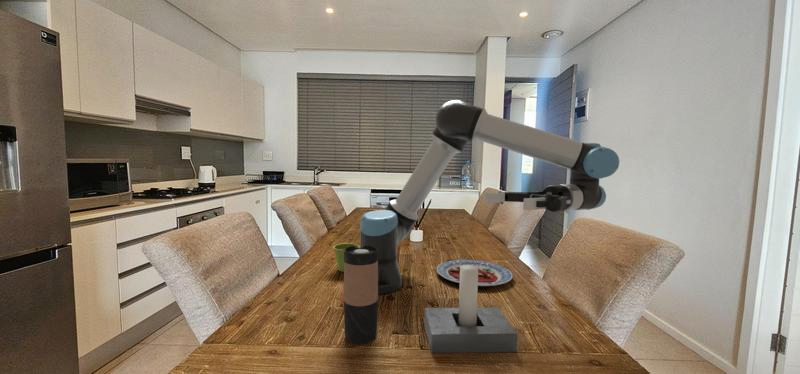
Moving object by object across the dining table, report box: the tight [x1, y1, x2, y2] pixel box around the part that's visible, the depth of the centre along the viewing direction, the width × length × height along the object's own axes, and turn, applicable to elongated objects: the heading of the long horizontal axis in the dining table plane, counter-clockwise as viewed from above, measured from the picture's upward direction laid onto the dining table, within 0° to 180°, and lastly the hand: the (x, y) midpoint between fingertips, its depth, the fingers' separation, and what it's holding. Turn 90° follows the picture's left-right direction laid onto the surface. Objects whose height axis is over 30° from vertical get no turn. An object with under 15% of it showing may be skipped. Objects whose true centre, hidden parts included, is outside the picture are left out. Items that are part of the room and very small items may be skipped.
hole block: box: [423, 306, 518, 354], centre depth 72 cm, size 18×12×4 cm, turn 92°
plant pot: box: [332, 243, 360, 273], centre depth 115 cm, size 9×9×9 cm
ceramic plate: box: [436, 259, 513, 287], centre depth 111 cm, size 26×26×3 cm
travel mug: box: [343, 245, 379, 345], centre depth 71 cm, size 8×8×20 cm
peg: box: [458, 265, 479, 327], centre depth 71 cm, size 4×4×16 cm
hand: (503, 201), depth 80 cm, fingers open, 13 cm apart
